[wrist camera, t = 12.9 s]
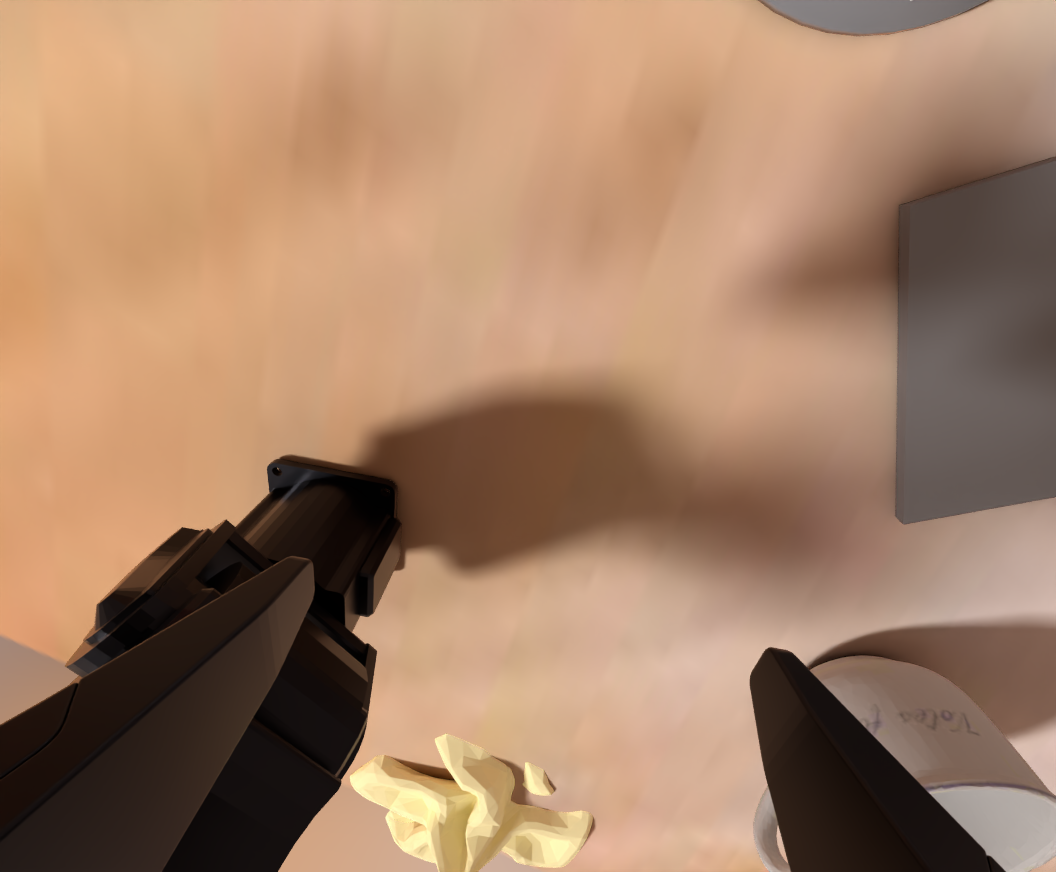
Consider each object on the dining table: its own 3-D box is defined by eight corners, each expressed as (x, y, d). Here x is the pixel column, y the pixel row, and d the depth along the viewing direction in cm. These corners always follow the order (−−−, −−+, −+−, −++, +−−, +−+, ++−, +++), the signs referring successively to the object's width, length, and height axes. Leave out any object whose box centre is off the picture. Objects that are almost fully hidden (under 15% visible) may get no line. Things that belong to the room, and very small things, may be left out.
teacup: (911, 599, 25) (1047, 763, 18) (978, 710, 28) (1115, 885, 21) (675, 689, 30) (708, 846, 22) (757, 774, 33) (807, 934, 26)
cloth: (617, 850, 41) (623, 953, 35) (424, 861, 45) (403, 954, 39) (534, 686, 31) (526, 789, 26) (301, 718, 36) (252, 813, 30)
